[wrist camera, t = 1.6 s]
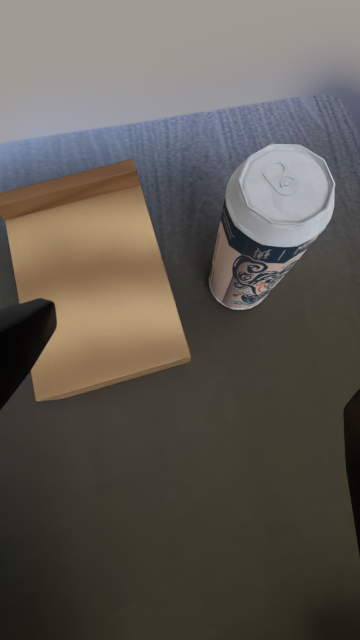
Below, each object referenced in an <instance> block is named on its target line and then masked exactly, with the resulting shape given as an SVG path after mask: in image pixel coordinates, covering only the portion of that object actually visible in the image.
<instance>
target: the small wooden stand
mask: <svg viewBox="0 0 360 640" xmlns="http://www.w3.org/2000/svg"><path fill="white" fill-rule="evenodd" d="M0 216H1V217H2V218H3V219H4V220H5V221H6V227H7V233H8V239H9V245H10V251H11V257H12V263H13V269H14V274H15V280H16V286H17V292H18V298H19V304H21V303H25V302H28V301H31V300H34V299H38V298H43V299H47V300H51V301H53V302H54V303H55V307H56V317H57V327H56V330H55V332H54V333H53V335H52V337H51V338H50V340H49V342H48V343H47V345H46V347H45V348H44V350H43V352H42V353H41V355H40V357H39V358H38V360H37V361H36V363H35V365H34V366H33V368H32V369H31V374H32V380H33V386H34V392H35V398H36V401H47V400H58V399H65V398H68V397H72V396H75V395H78V394H82V393H85V392H89V391H92V390H96V389H99V388H102V387H106V386H109V385H113V384H116V383H120V382H123V381H126V380H130V379H133V378H137V377H140V376H144V375H147V374H150V373H154V372H157V371H161V370H164V369H168V368H171V367H174V366H178V365H181V364H185V363H188V362H190V358H191V355H190V352H189V348H188V345H187V341H186V338H185V335H184V331H183V328H182V325H181V321H180V318H179V314H178V311H177V308H176V304H175V301H174V297H173V294H172V291H171V287H170V284H169V281H168V277H167V274H166V270H165V267H164V264H163V260H162V257H161V253H160V250H159V247H158V243H157V240H156V237H155V233H154V230H153V226H152V223H151V220H150V216H149V213H148V210H147V206H146V203H145V199H144V196H143V193H142V189H141V186H140V182H139V177H138V173H137V169H136V166H135V162H134V159H129V160H125V161H121V162H118V163H114V164H110V165H106V166H102V167H98V168H95V169H91V170H87V171H83V172H79V173H75V174H71V175H68V176H64V177H60V178H56V179H52V180H48V181H45V182H41V183H37V184H33V185H29V186H25V187H21V188H18V189H14V190H10V191H6V192H2V193H0Z"/></svg>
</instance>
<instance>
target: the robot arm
mask: <svg viewBox="0 0 360 640" xmlns="http://www.w3.org/2000/svg"><path fill="white" fill-rule="evenodd" d="M56 327H57V317H56V307H55V303H54V302H53V301H51V300H47V299H43V298H38V299H34V300H31V301H28V302H25V303H21V304H18V305H15V306H11V307H8V308H5V309H1V310H0V410H1V409H2V407H3V406H4V405H5V404H6V402H7V401H8V400H9V398H10V397H11V396H12V394H13V393H14V392H15V391H16V389H17V388H18V387H19V385H20V384H21V383H22V382H23V380H24V379H25V378H26V376H27V375H28V374H29V372H30V371H31V369H32V368H33V366H34V365H35V363H36V361H37V360H38V358H39V357H40V355H41V353H42V352H43V350H44V348H45V347H46V345H47V343H48V342H49V340H50V338H51V337H52V335H53V333H54V332H55V330H56ZM344 439H345V461H346V471H347V478H348V484H349V491H350V497H351V503H352V510H353V516H354V523H355V529H356V536H357V542H358V549H359V555H360V389H359V390H358V391H357V392H356V393H355V395H354V396H353V397H352V398H351V399H350V401H349V402H348V403H347V404H346V406H345V408H344Z"/></svg>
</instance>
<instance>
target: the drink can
mask: <svg viewBox="0 0 360 640" xmlns="http://www.w3.org/2000/svg"><path fill="white" fill-rule="evenodd" d="M334 187H335V182H334V180H333V177H332V175H331V173H330V171H329V168H328V166H327V164H326V162H325V160H324V159H323V158H321V157H319V156H318V155H316V154H314V153H313V152H311V151H310V150H308V149H306V148H305V147H303V146H302V145H293V144H270V145H269V146H267V147H265V148H263V149H262V150H260V151H258V152H256V153H255V154H253V155H251V156H250V157H248V159H247V160H246V161H245V162H244V163H242V164H241V165H240V166H239V167H238V168H237V169H236V170H235V172H234V173H233V174H232V176H231V178H230V180H229V183H228V186H227V189H226V195H225V201H224V206H223V211H222V216H221V221H220V226H219V231H218V236H217V241H216V246H215V250H214V255H213V260H212V265H211V270H210V275H209V286H210V289H211V292H212V294H213V296H214V297H215V298H216V299H217V301H219V302H220V303H221V304H222V305H224V306H226V307H228V308H231V309H236V310H245V309H250V308H252V307H254V306H256V305H258V304H259V303H260V302H261V301H262V300H263V299H264V298H265V297H266V296H267V295H268V294H269V293H270V291H271V290H272V289H273V288H274V287H275V286H276V284H277V283H278V282H279V281H280V280H281V279H282V278H283V276H284V275H285V274H286V273H287V272H288V271H289V269H290V268H291V267H292V266H293V265H294V264H295V263H296V261H297V260H298V259H299V258H300V257H301V256H302V254H303V253H304V252H305V251H306V250H307V249H308V247H309V246H310V245H311V244H312V243H313V242H314V241H315V239H316V238H317V237H318V236H319V235H320V234H321V232H322V231H323V230H324V229H325V227H326V226H327V224H328V223H329V221H330V219H331V216H332V212H333V209H334Z"/></svg>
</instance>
